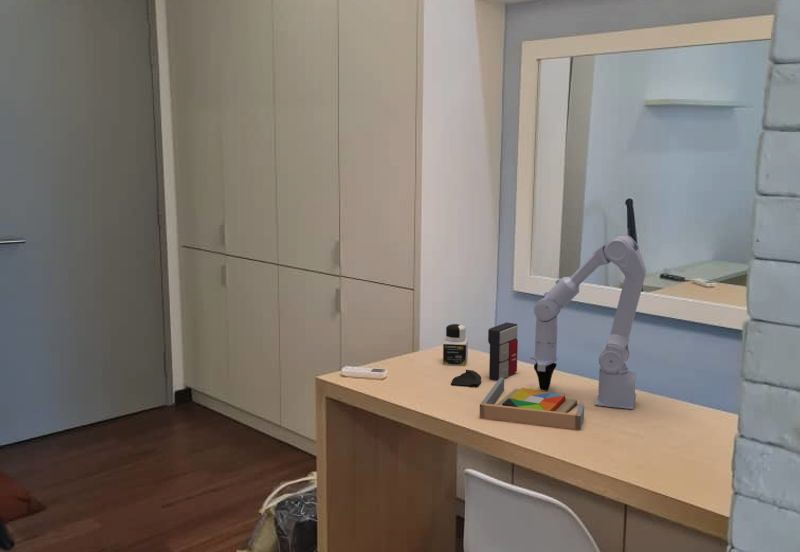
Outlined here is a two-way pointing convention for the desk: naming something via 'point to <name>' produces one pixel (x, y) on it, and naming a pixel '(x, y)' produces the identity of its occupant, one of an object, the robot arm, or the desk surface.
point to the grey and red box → (503, 350)
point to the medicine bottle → (455, 346)
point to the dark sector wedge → (467, 379)
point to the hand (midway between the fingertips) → (544, 389)
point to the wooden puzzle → (538, 400)
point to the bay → (527, 412)
